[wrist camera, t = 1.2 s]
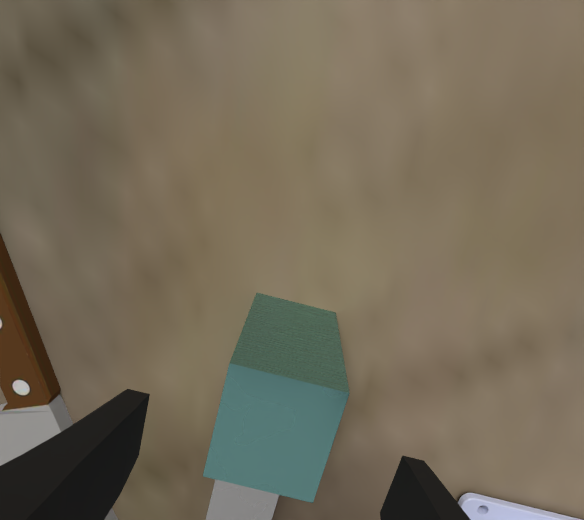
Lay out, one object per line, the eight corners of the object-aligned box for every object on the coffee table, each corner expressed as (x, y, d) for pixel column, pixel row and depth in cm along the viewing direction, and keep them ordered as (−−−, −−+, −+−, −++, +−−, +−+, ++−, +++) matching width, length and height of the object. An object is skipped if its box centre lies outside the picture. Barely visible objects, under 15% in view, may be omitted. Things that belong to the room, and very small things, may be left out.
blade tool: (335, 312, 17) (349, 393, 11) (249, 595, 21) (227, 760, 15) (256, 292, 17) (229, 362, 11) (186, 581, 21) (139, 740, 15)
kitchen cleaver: (-199, 230, 17) (9, 184, 15) (-169, 225, 18) (29, 182, 16) (17, 639, 23) (179, 634, 21) (30, 618, 24) (186, 612, 22)
